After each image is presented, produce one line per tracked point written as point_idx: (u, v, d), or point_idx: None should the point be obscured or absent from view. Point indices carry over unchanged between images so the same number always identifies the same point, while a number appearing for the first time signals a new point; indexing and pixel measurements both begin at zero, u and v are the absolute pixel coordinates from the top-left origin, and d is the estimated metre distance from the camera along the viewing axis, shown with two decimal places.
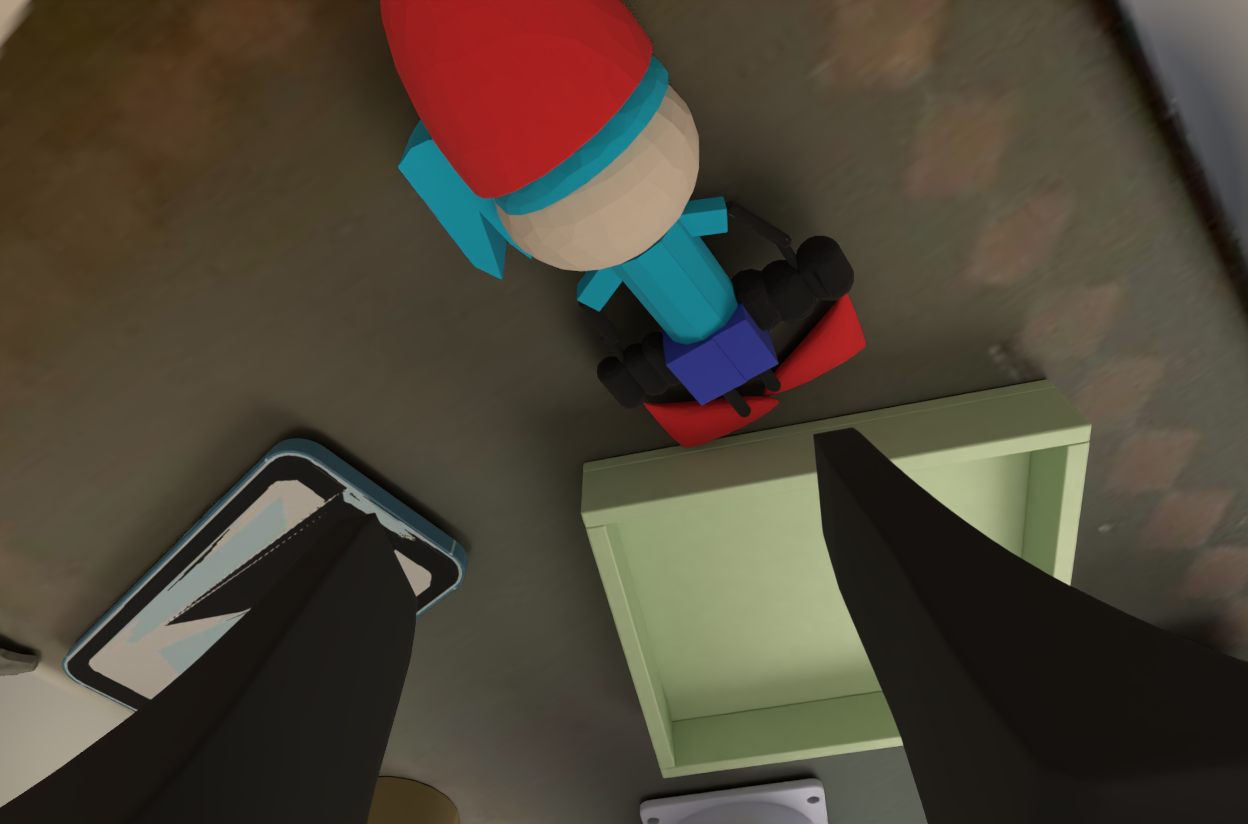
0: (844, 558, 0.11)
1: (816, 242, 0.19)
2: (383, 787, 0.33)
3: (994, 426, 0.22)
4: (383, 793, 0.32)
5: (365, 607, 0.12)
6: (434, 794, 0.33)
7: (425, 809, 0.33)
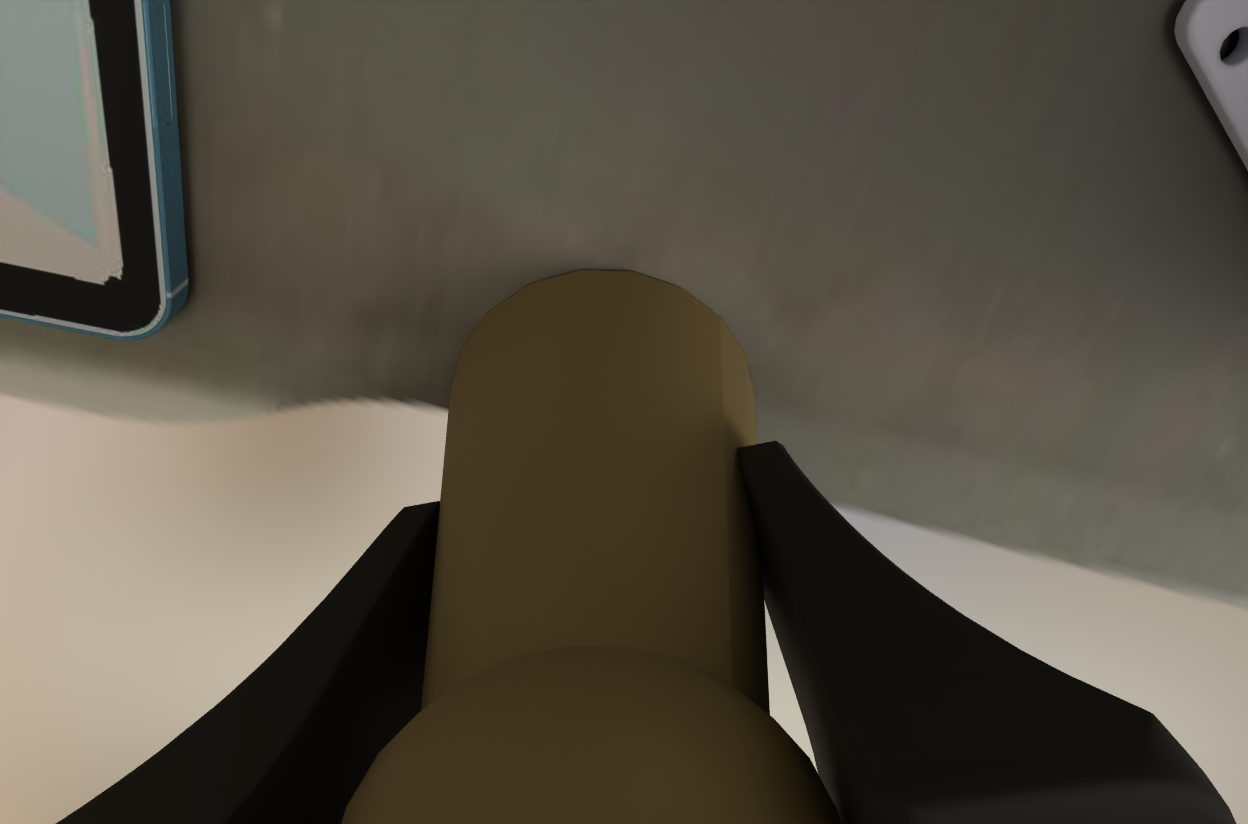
0: (763, 571, 0.11)
1: None
2: (521, 301, 0.14)
3: None
4: (523, 307, 0.13)
5: None
6: (643, 280, 0.14)
7: (631, 297, 0.13)
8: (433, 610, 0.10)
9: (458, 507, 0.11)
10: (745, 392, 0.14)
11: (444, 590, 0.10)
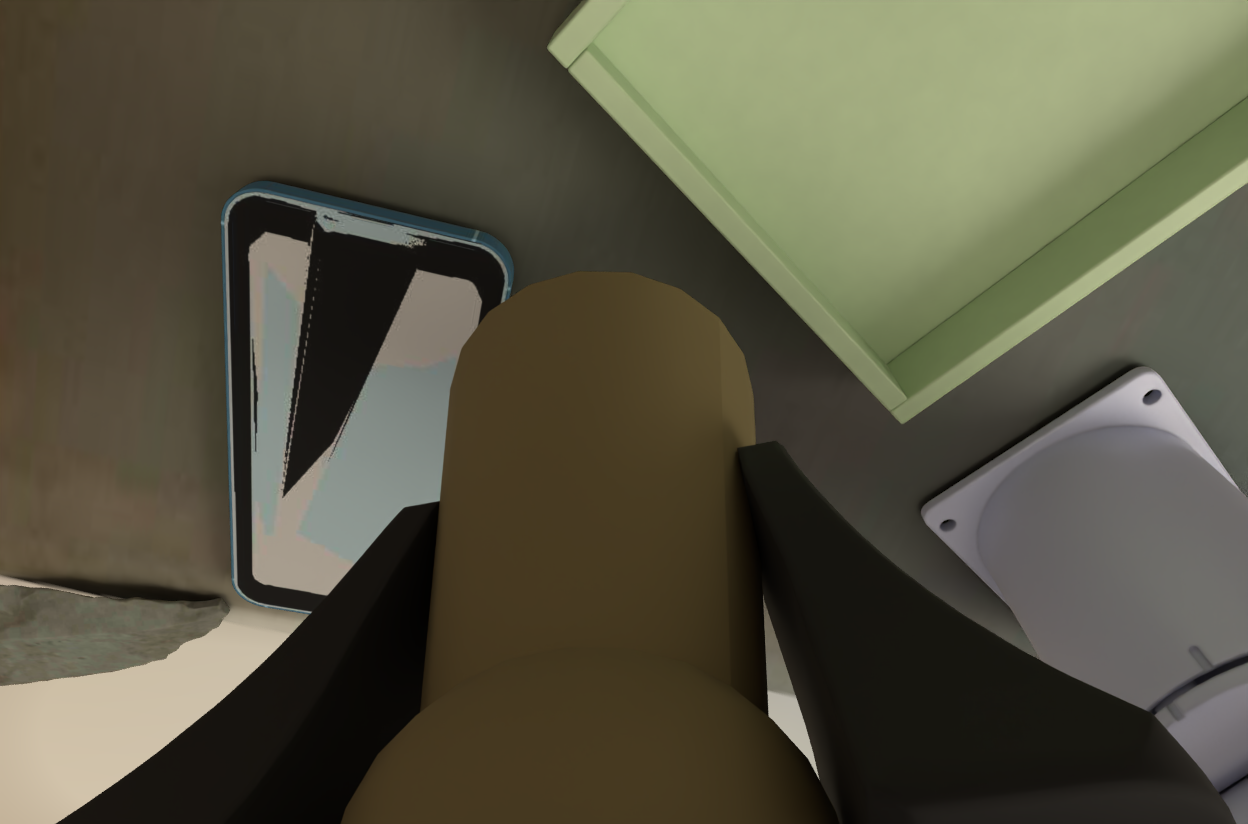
0: (763, 571, 0.11)
1: None
2: (520, 302, 0.14)
3: None
4: (523, 308, 0.14)
5: None
6: (642, 281, 0.14)
7: (630, 299, 0.13)
8: (432, 611, 0.10)
9: (457, 508, 0.11)
10: (744, 393, 0.14)
11: (443, 591, 0.10)
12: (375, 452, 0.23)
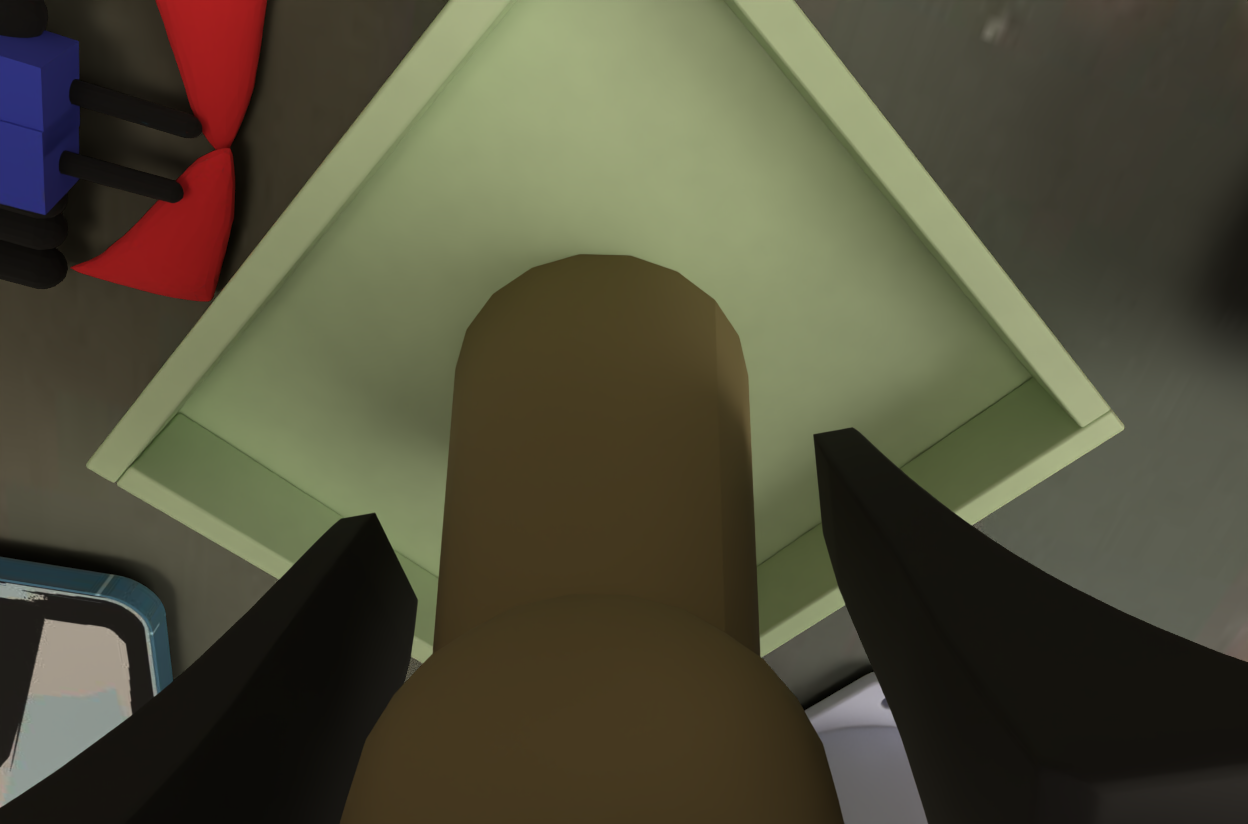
0: (844, 558, 0.11)
1: None
2: (523, 284, 0.14)
3: None
4: (526, 289, 0.14)
5: (365, 607, 0.12)
6: (641, 264, 0.14)
7: (629, 280, 0.14)
8: (442, 571, 0.11)
9: (464, 475, 0.11)
10: (739, 371, 0.14)
11: (453, 551, 0.10)
12: (57, 763, 0.22)
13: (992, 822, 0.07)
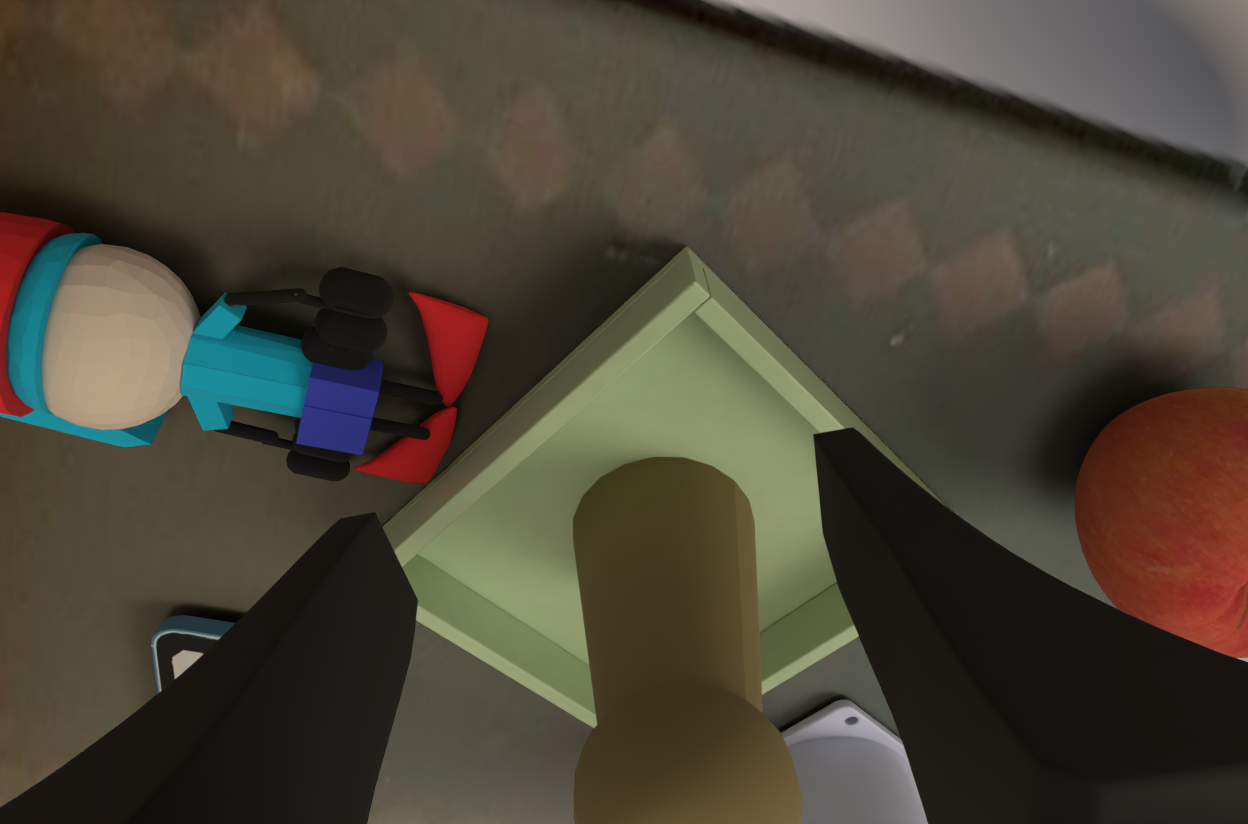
0: (844, 558, 0.11)
1: (322, 280, 0.19)
2: (620, 476, 0.24)
3: (626, 330, 0.20)
4: (623, 481, 0.24)
5: (365, 607, 0.12)
6: (690, 463, 0.24)
7: (684, 478, 0.23)
8: (596, 661, 0.20)
9: (603, 607, 0.21)
10: (749, 528, 0.24)
11: (604, 652, 0.20)
12: None
13: (992, 823, 0.07)
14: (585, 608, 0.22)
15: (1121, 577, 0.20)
